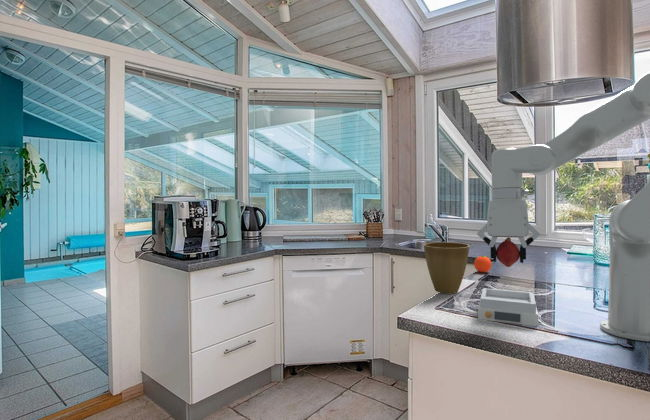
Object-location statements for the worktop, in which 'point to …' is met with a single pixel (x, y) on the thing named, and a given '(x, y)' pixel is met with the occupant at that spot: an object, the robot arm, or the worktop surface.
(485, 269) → the clementine
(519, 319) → the scale
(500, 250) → the onion
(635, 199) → the robot arm
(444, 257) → the plant pot
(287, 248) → the worktop surface
